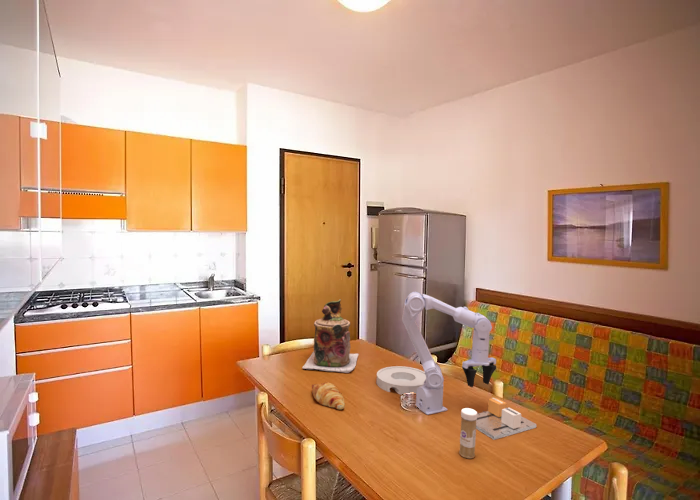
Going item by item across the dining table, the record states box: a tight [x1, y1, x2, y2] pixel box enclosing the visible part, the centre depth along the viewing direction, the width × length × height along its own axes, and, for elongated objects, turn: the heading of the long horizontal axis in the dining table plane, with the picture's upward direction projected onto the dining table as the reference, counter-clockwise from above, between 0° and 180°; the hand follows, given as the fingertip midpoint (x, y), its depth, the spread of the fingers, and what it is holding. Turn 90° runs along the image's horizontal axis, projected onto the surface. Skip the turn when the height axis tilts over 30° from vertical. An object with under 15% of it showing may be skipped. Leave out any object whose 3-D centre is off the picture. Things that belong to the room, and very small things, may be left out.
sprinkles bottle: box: [458, 407, 478, 460], centre depth 116 cm, size 5×5×14 cm
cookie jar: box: [302, 299, 360, 374], centre depth 192 cm, size 25×25×32 cm
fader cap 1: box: [487, 397, 507, 417], centre depth 141 cm, size 4×5×5 cm
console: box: [476, 410, 537, 441], centre depth 136 cm, size 20×15×1 cm
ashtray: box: [376, 365, 426, 396], centre depth 170 cm, size 23×23×4 cm
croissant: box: [311, 381, 346, 410], centre depth 151 cm, size 21×10×8 cm, turn 38°
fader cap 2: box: [501, 407, 522, 429], centre depth 133 cm, size 4×5×5 cm
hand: (478, 384), depth 145 cm, fingers open, 7 cm apart
